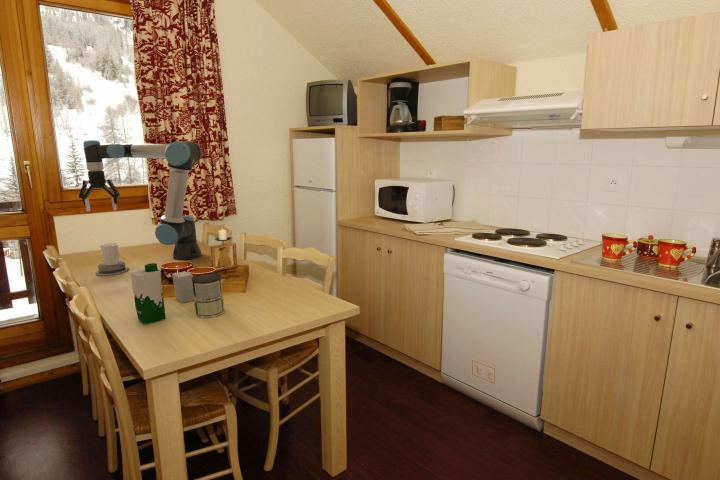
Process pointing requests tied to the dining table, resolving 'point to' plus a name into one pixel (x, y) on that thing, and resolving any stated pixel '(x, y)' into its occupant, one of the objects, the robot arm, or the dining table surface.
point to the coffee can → (208, 295)
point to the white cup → (110, 253)
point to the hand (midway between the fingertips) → (101, 210)
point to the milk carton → (148, 294)
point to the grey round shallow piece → (111, 269)
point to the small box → (183, 286)
